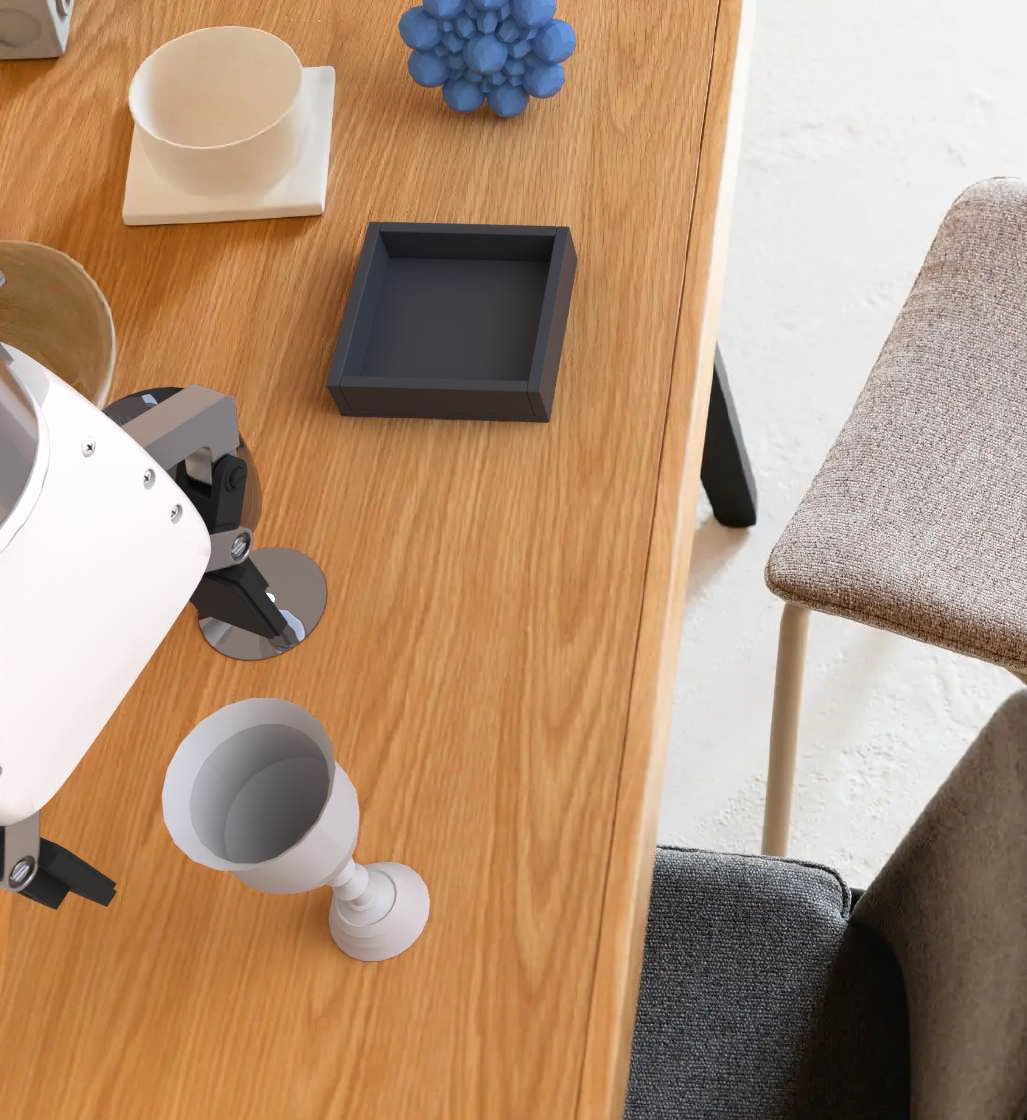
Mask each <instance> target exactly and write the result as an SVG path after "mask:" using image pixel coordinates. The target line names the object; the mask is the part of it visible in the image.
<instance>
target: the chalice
mask: <svg viewBox="0 0 1027 1120" xmlns="http://www.w3.org/2000/svg"><path fill="white" fill-rule="evenodd" d="M176 749H177V750H176V751H175V753H174V755H173V756H172V759H171V761H170V763H169V765H168V766H167V768H166V772H165V779H164V782H163V787H162V791H161V802H162V813H163V822H164V824H165V826H166V828H167V830H168V833H169V835H170V837H171V839H172V841H173V843H174V844H175V846H177V847H178V849H180V850H181V851H182V852H183V853H184V854H185V855H186V856H187V857H189V859H191V861H192V862H193V863H194V862H195V863H197V864H200V865H202V866H205V867H208V868H210V869H213V870H216V871H228V872H229V873H230V874H231V875H233V876H234V877H235V878H236V879H238V880H239V881H240V882H241V883H242V884H244V885H245V886H246V887H248V888H250V889H253V890H256V891H258V892H261V893H264V894H266V895H292V894H293V895H294V894H304V893H307V892H310V891H313V890H316V889H319V888H322V887H323V886H325V885H327V886H329V887H331V891H332V892H333V894H332V899H331V902H330V906H329V913H328V925H329V932H330V936H331V937H332V939H333V940H334V942H335V944H336V946H337V947H338V948H339V950H340V951H342V952H344V953H345V954H346V955H347V956H349V957H351V958H353V959H356V960H359V961H363V962H382V961H385V960H388V959H391V958H395V957H397V956H399V955H400V954H401V953H403V952H404V951H406V950H407V949H409V948H410V947H411V946H412V945H413V944H414V943H415V942H416V941H417V939H418V938H419V937H420V936H421V935H422V933H423V932H424V931H423V930H424V929H425V926H426V924H427V922H428V919H429V915H430V906H431V899H430V894H429V890H428V889H429V888H428V886H427V885H426V883H425V881H424V880H423V878H422V877H421V875H420V873H418V872H416V871H415V870H414V869H413V868H411V867H410V866H409V865H406V864H403V863H401V862H396V861H377V862H371V863H368V864H364V865H362V864H361V863H357V862H355V860H354V859H353V854H354V853H355V852H354V851H355V849H356V848H357V845H358V838H359V830H360V813H361V812H360V811H361V810H360V805H359V798H358V793H357V789H356V788H355V786H354V785H353V782H352V781H351V779H350V777H349V775H348V774H347V772H346V770H344V768H343V767H341V765H340V764H339V763H338V762H337V761H336V759H335V755H334V753H335V752H334V747H333V743H332V741H331V738H330V737H329V735H328V733H327V732H326V729H325V728H324V726H323V724H322V722H321V721H320V720H319V719H318V718H316V717H315V716H314V715H313V714H312V713H311V712H310V711H308V710H307V708H305V707H304V706H302V705H300V704H297V703H295V702H292V701H288V700H286V699H283V698H280V697H250V698H246V699H244V700H240V701H236V702H233V703H230V704H227V705H224V706H223V707H221V708H219V709H218V710H216V711H215V712H213V713H211V714H210V715H208V716H206V717H205V718H204V719H203V720H201V721H199V722H198V723H197V724H196V726H195V727H194V728H193V729H192V730H191V731H190V732H189V733H188V735H187V736H186V737H185V738H184V739H183V740H182V741H181V742H180V743H179V745H178V747H177V748H176Z"/></svg>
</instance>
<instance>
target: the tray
mask: <svg viewBox="0 0 1027 1120" xmlns="http://www.w3.org/2000/svg"><path fill="white" fill-rule="evenodd" d="M362 243H363V244H362V247H361V251H360V255H359V259H358V263H357V266H356V269H355V273H354V277H353V282H352V285H351V288H350V293H349V295H348V300H347V303H346V308H345V312H344V314H343V319H342V323H341V326H340V330H339V334H338V338H337V342H336V344H335V345H336V346H335V349H334V353H333V357H332V361H331V364H330V367H329V372H328V376H327V379H326V383H325V387H326V389H327V391H328V393H329V395H330V396H331V398H332V400H333V402H334V404H335V406H336V407H337V409H338V411H339V414H340V415H341V416H342V417H364V418H365V417H367V418H400V419H401V418H403V419H404V418H405V419H433V420H434V419H435V420H466V421H470V420H471V421H496V422H497V421H501V422H503V421H504V422H531V423H532V422H534V423H535V422H536V423H550V421H551V416H552V409H553V404H554V398H555V392H556V387H557V381H558V377H559V370H560V364H561V358H562V351H563V348H564V347H563V346H564V341H565V335H566V329H567V324H568V317H569V312H570V306H571V300H572V294H573V289H574V282H575V277H576V272H577V265H578V261H579V259H578V255H577V251H576V247H575V243H574V240H573V236H572V232H571V229H570V226H568V225H567V226H566V225H557V226H556V225H532V224H531V225H527V224H526V225H525V224H524V225H523V224H492V223H491V224H490V223H487V224H485V223H447V222H414V221H413V222H411V221H382V222H381V221H369V222H368V225H367V229H366V233H365V236H364V239H363V242H362Z"/></svg>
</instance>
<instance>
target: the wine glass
mask: <svg viewBox="0 0 1027 1120" xmlns="http://www.w3.org/2000/svg"><path fill="white" fill-rule="evenodd" d="M185 388H186V387H180V386H179V387H178V386H164V387H162V386H161V387H160V386H159V387H152V388H148V389H143V390H139V391H136V392H133V393H131V394H128V395H125V396H122V397H121V398H119V399H117V400H115V401H113V402H111V403H110V404H109V405H107V406H105V407H104V408H103V409H100V411H102V412H103V413H104V414H105V415H106V416H107V417H109V418H110V419H111V420H112V421H114V422H115V423H116V424H117V425H118V426H119V427H121V426H123V425H124V424H126V423H128V422H129V421H131V420H133V419H134V418H136V417H138V416H139V415H141V414H143V413H144V412H146V411H148V410H149V409H151V408H153V407H154V406H156V405H158V404H159V403H161V402H163V401H165V400H166V399H168V398H170V397H171V396H173V395H175V394H176V393H178V392H180V391H181V390H183V389H185ZM238 431H239V443H240V446H238V447H237V448H236V451H237V457H239V458H241V459H243V460H244V461H245V462H246V464H247V479H246V486H245V493H244V500H243V508H242V515H241V522H240V526H243V527H246V528H249V529H250V530H251V531H252V533H253V534H254V533H255V531H256V529H258V526H259V523H260V520H261V517H262V509H263V490H262V485H261V479H260V475H259V472H258V468H257V466H256V462H255V459H254V456H253V453H252V452H251V450H250V448H249V446H248V444H247V443H246V441H245V439H244V437H243V435H242V434H241V432H240V429H238ZM176 469H177V464H176V465H175V466H173V467H172V468H170V469H169V470H167V471H166V472H167V474H168V475H169V476H170V477H171V478H172V479H173V481H174V482H175V477H176ZM248 557H249V558H250V559H251V561H252V562H253V563H254V565H255V566H256V567H257V569H258V570H259V571H260V573H261V574H262V576H263V577H264V578H265V580H266V581H267V582H268V584H269V585H268V587H267V589H266V590H265V592H266V594H267V595H268V596H269V598H270V599H271V600H272V602H273V603H274V604H275V606H276V607H277V608H278V610H279V611H280V612H281V614H282V615H283V616H284V618H285V619H286V620H287V622H288V624H287V625H286V627H285V629H284V630H283V632H282V633H281V635H280V636H279V637H278V636H275V637H274V638H273V639H268V638H265V637H263V636H260V635H257V634H255V633H252V632H249V631H247V630H244V629H241V628H239V627H236V626H233V625H230V624H228V623H225V622H222V621H220V620H217V619H214V618H212V617H209V616H207V615H204V614H203V613H201V612H200V611H198V623H199V627H200V631H201V633H202V635H203V637H204V639H205V640H206V642H207V643H208V644H209V646H211V647H212V648H213V649H215V651H217V652H218V653H220V654H222V655H224V656H225V657H228V658H232V659H235V660H239V661H249V662H250V661H262V660H266V659H271V658H274V657H277V656H280V655H283V654H285V653H287V652H288V651H290V650H292V649H294V648H295V647H296V646H299V644H301V643H302V642H303V641H305V640H306V639H307V638H308V637H309V635H310V634H312V632H313V631H314V630H315V628H316V627H317V626H318V624H319V623H320V621H321V618H322V617H323V616H324V613H325V610H326V607H327V602H328V584H327V580H326V577H325V574H324V573H323V571H322V569H321V567H320V566H319V565H318V564H317V563H316V561H315V560H314V559H312V558H311V557H309V556H308V555H306V554H305V553H302V552H300V551H298V550H295V549H292V548H288V547H280V546H279V547H278V546H274V547H261V548H257V549H254V550H253V549H252V550H251V552H250V554H249V555H248Z"/></svg>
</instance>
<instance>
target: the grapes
mask: <svg viewBox="0 0 1027 1120" xmlns="http://www.w3.org/2000/svg"><path fill="white" fill-rule="evenodd" d="M421 3H422V5H416V6H412V7H409V8H408V9H407V10H406V11H405V12H404V13H402V14H401V17H400V18H399V22H398V26H397V27H398V32H399V37H400V38H401V40H402V41H403V43H404V44H405V45H406V47H408V48H410V49H411V50H412V51H411V52H410V54H409V57H408V59H407V63H406V64H407V69H408V74H409V75H410V77H411V79H412V80H413V82H414V83H415V84H417V85H418V86H420V87H422V88H426V89H433V88H437V87H441V86H442V87H441V95H442V100H443V102H444V103H445V104H446V106H447V107H448V108H449V110H451V111H452V112H454V113H457V114H469V113H472V112H475V111H477V110H478V109H479V108H480V107H482V106H483V104H484V102H485V101H486V105H487V107H488V108H489V109H490V111H491V112H492V113H493V114H494V115H496V116H498V117H500V118H505V119H506V118H507V119H509V118H514V117H517V116H519V115H520V114H522V113H523V112H524V111H525V110H526V109H527V107H528V104H529V102H530V96H531V97H533V98H535V99H540V100H544V99H545V100H546V99H549V98H553V97H554V96H556V95H557V94H558V93H559V92H560V91H561V90H562V89H563V86H564V84H565V82H566V76H565V68H564V66H563V65H562V63H565V62H566V61H568V60H569V59H570V58H571V57H572V56H573V54H574V52H575V50H576V47H577V39H576V32H575V30H574V28H573V27H572V25H570V24H571V23H569V22H567V21H565V20H563V19H559V18H554V17H555V14H556V12H557V1H556V0H421Z"/></svg>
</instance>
